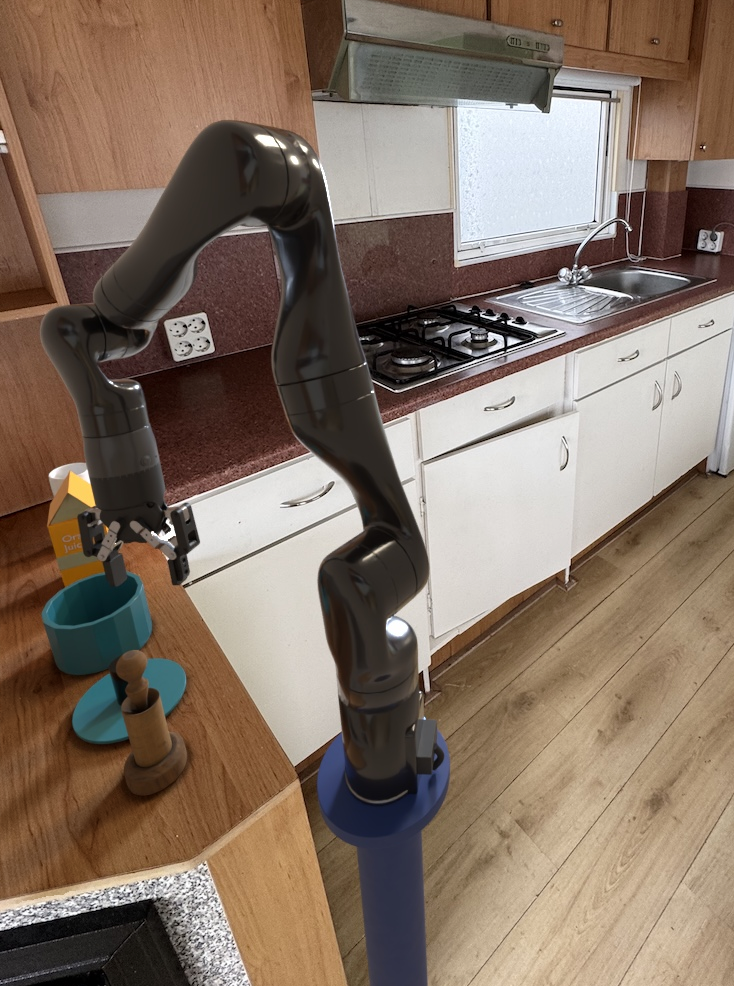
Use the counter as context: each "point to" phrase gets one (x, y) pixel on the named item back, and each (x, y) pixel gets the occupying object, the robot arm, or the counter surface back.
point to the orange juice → (72, 530)
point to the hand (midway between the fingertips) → (149, 582)
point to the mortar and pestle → (147, 731)
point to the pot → (96, 623)
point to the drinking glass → (61, 472)
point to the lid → (103, 701)
